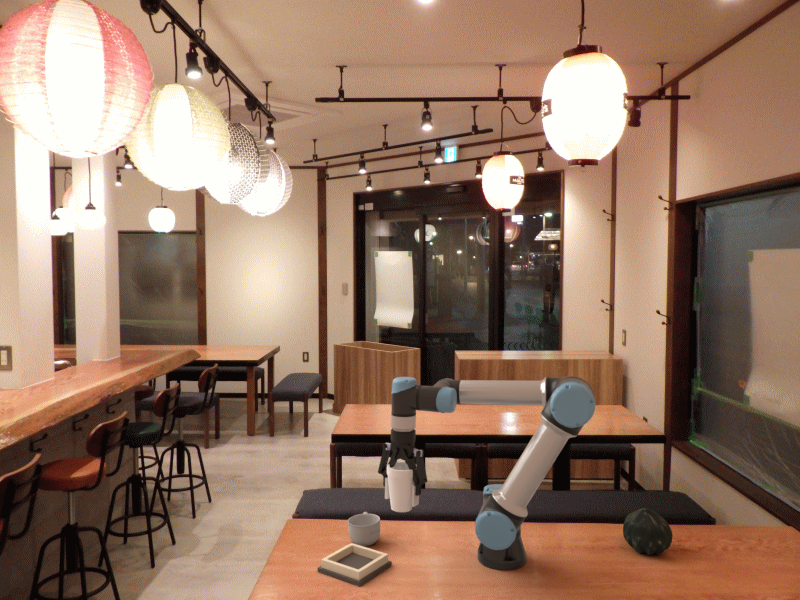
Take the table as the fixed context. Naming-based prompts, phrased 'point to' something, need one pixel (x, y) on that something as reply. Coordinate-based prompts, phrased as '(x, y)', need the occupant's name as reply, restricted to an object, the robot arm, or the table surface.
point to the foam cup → (400, 487)
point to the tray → (354, 564)
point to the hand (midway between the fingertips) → (401, 501)
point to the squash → (647, 532)
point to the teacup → (364, 529)
